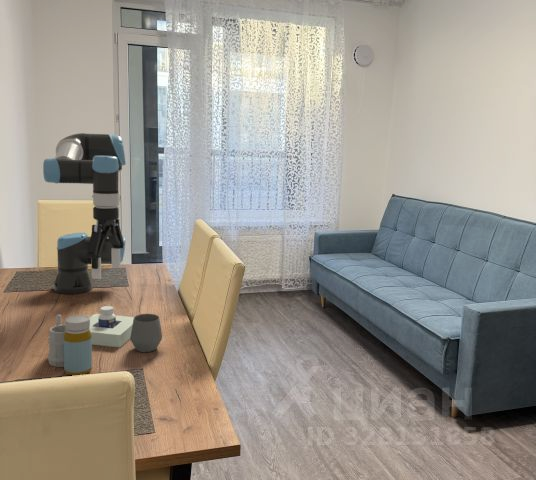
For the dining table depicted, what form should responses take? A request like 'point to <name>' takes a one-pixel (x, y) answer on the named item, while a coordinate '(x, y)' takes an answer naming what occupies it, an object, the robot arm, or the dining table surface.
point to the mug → (56, 343)
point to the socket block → (111, 331)
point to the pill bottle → (107, 317)
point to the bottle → (77, 345)
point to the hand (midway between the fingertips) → (106, 273)
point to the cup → (146, 332)
